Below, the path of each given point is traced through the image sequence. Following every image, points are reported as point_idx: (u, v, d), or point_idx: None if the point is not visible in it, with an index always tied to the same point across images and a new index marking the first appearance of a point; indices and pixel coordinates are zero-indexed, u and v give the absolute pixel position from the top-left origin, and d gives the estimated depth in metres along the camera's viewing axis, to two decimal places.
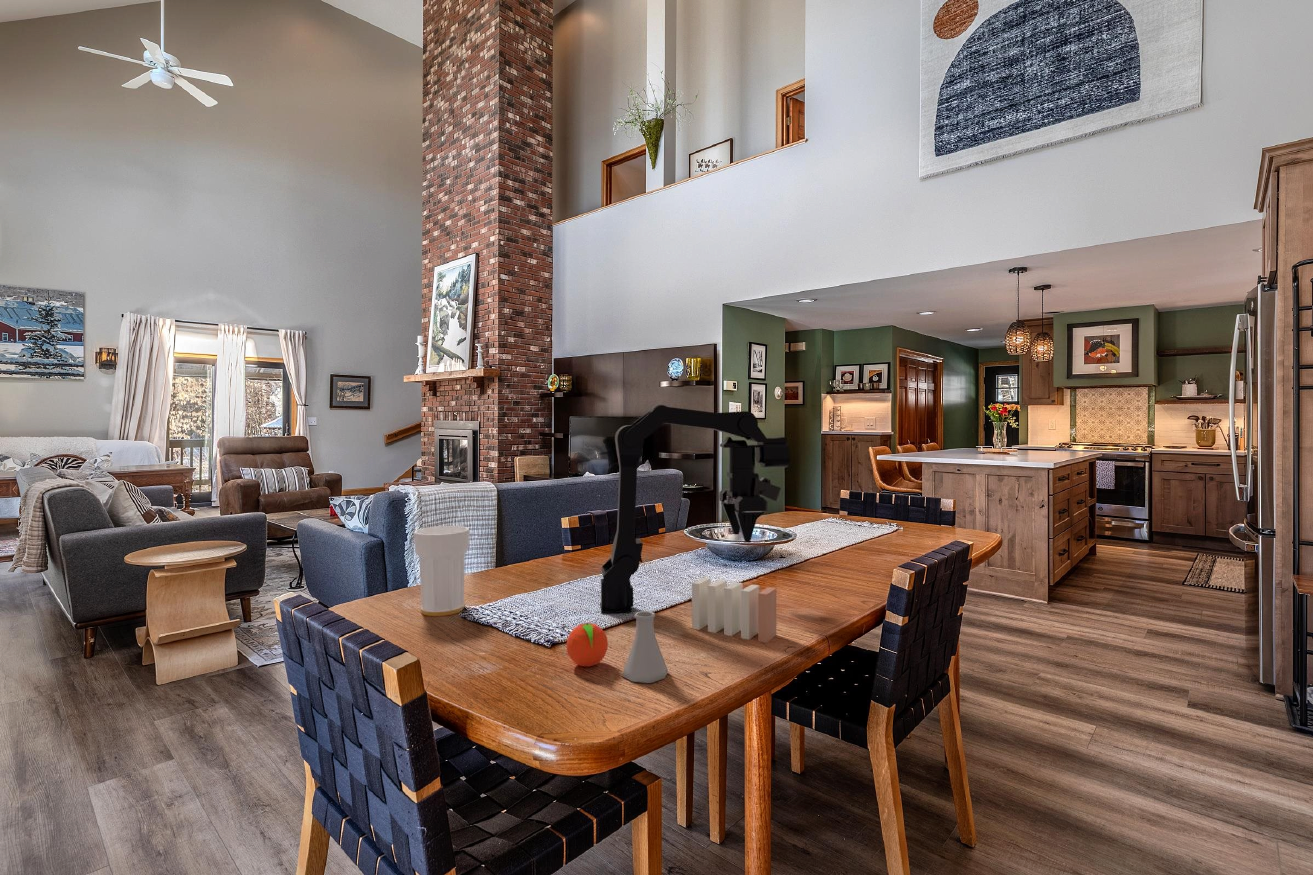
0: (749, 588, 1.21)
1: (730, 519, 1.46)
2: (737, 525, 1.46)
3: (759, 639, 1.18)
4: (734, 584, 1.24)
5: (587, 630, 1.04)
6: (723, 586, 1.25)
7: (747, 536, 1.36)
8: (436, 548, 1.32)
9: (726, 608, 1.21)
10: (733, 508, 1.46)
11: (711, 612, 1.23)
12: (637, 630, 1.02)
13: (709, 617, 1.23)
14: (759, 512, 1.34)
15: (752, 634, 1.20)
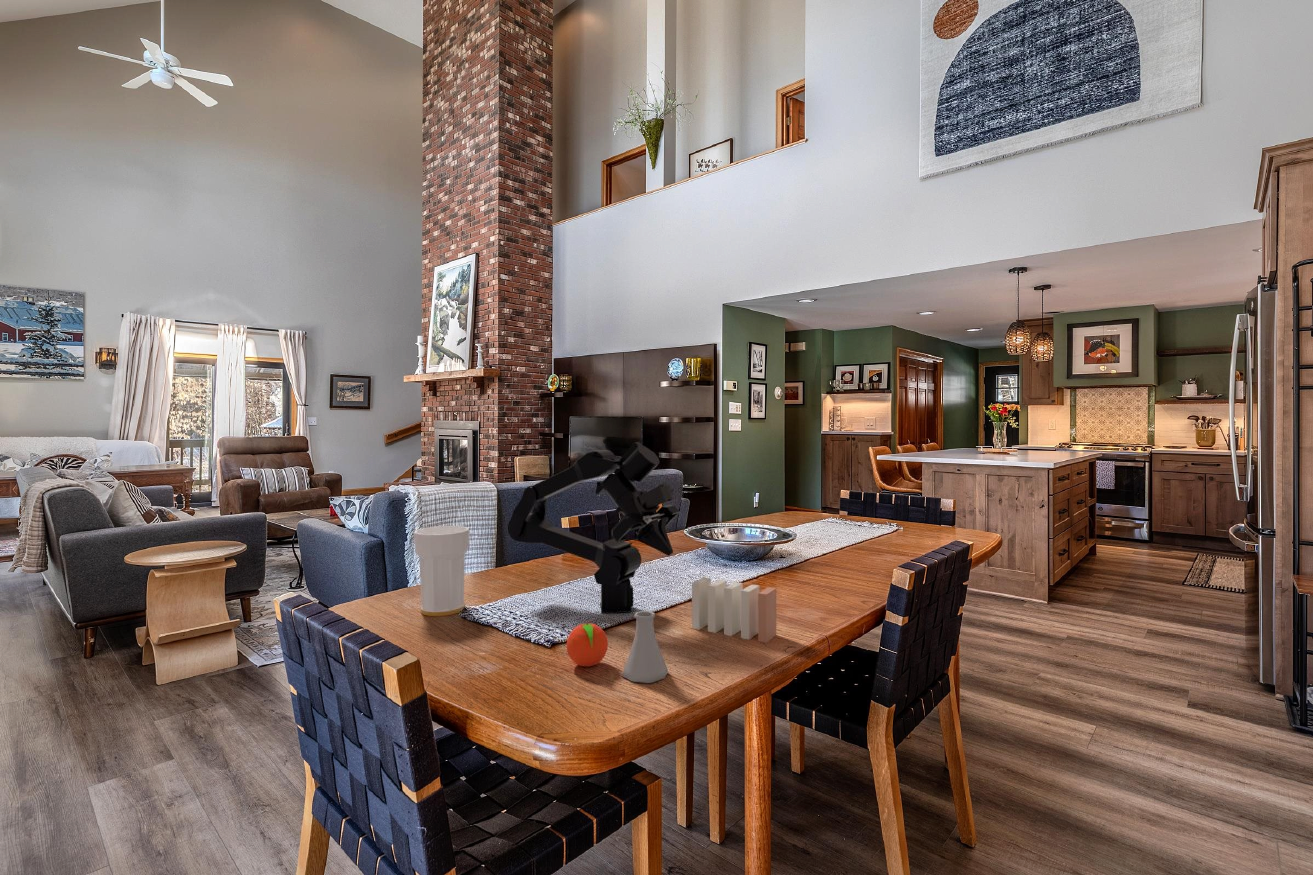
0: (749, 588, 1.21)
1: None
2: None
3: (759, 639, 1.18)
4: (734, 584, 1.24)
5: (587, 630, 1.04)
6: (723, 586, 1.25)
7: (664, 550, 1.30)
8: (436, 548, 1.32)
9: (726, 608, 1.21)
10: None
11: (711, 612, 1.23)
12: (637, 630, 1.02)
13: (709, 617, 1.23)
14: (646, 525, 1.29)
15: (752, 634, 1.20)
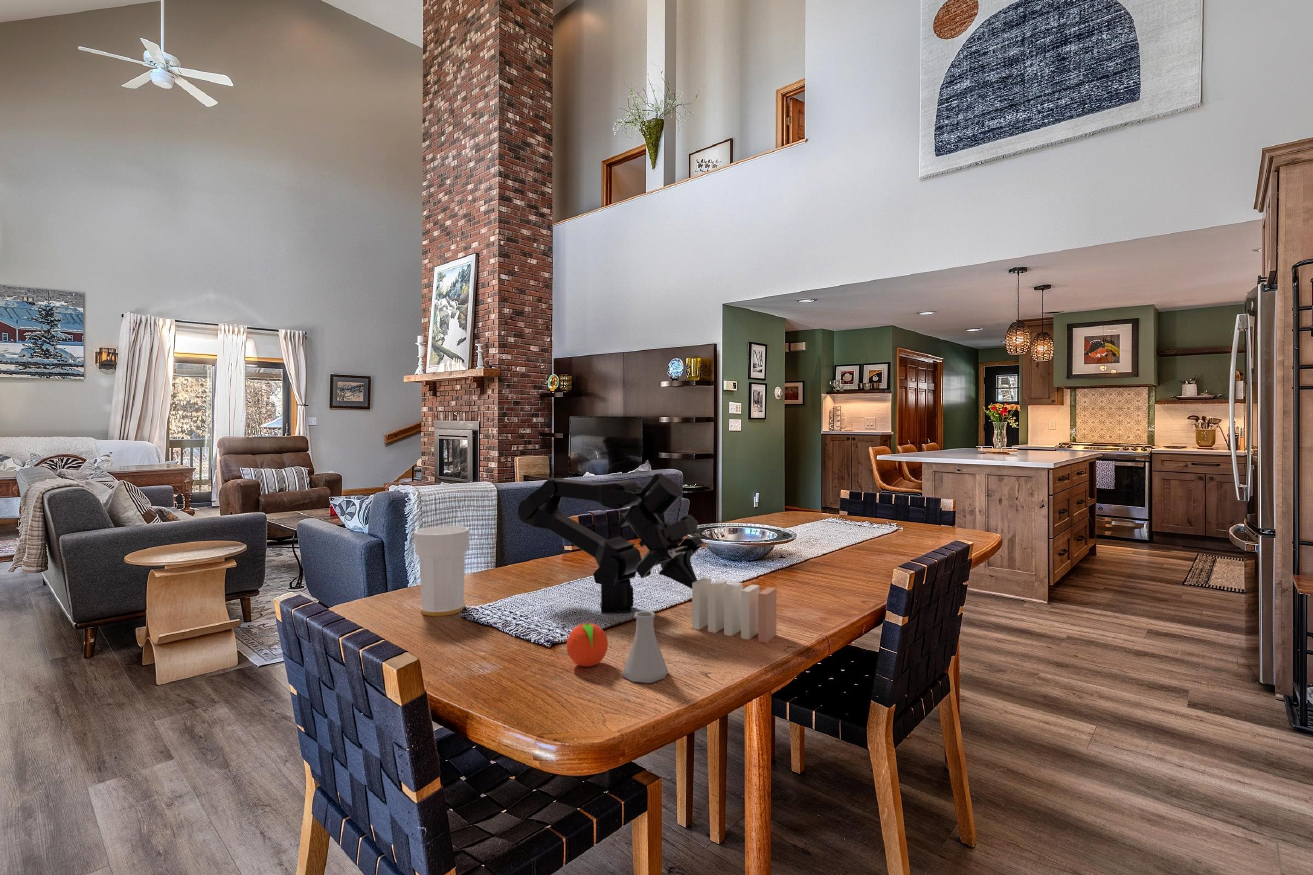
0: (749, 588, 1.21)
1: None
2: None
3: (759, 639, 1.18)
4: (734, 584, 1.24)
5: (587, 630, 1.04)
6: (723, 586, 1.25)
7: (690, 584, 1.27)
8: (436, 548, 1.32)
9: (726, 608, 1.21)
10: None
11: (711, 612, 1.23)
12: (637, 630, 1.02)
13: (709, 617, 1.23)
14: (671, 560, 1.26)
15: (752, 634, 1.20)
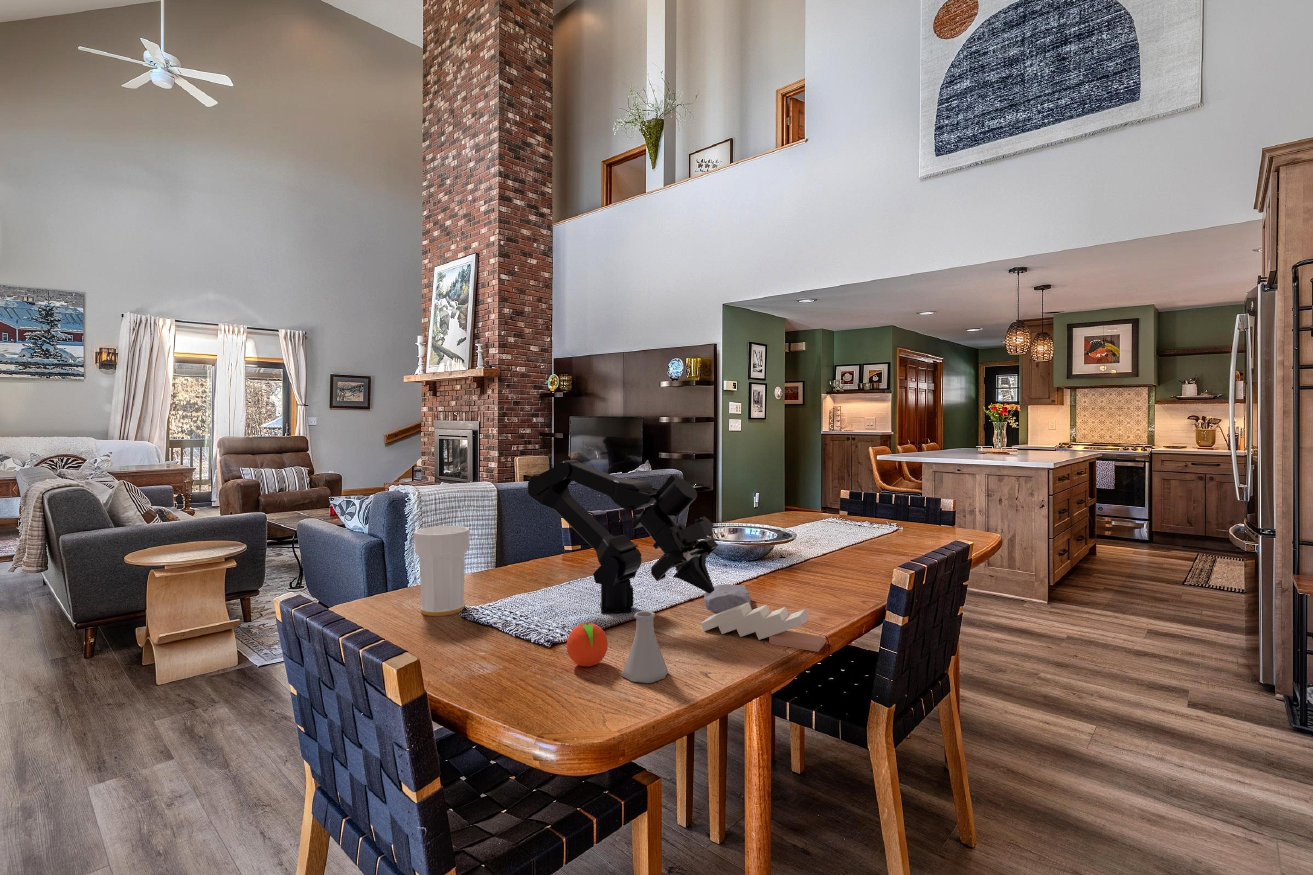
0: (803, 617, 1.17)
1: None
2: None
3: (771, 638, 1.17)
4: (784, 612, 1.19)
5: (587, 630, 1.04)
6: None
7: (705, 587, 1.25)
8: (436, 548, 1.32)
9: (761, 622, 1.18)
10: None
11: (737, 624, 1.20)
12: (637, 630, 1.02)
13: (731, 623, 1.21)
14: (686, 563, 1.24)
15: None
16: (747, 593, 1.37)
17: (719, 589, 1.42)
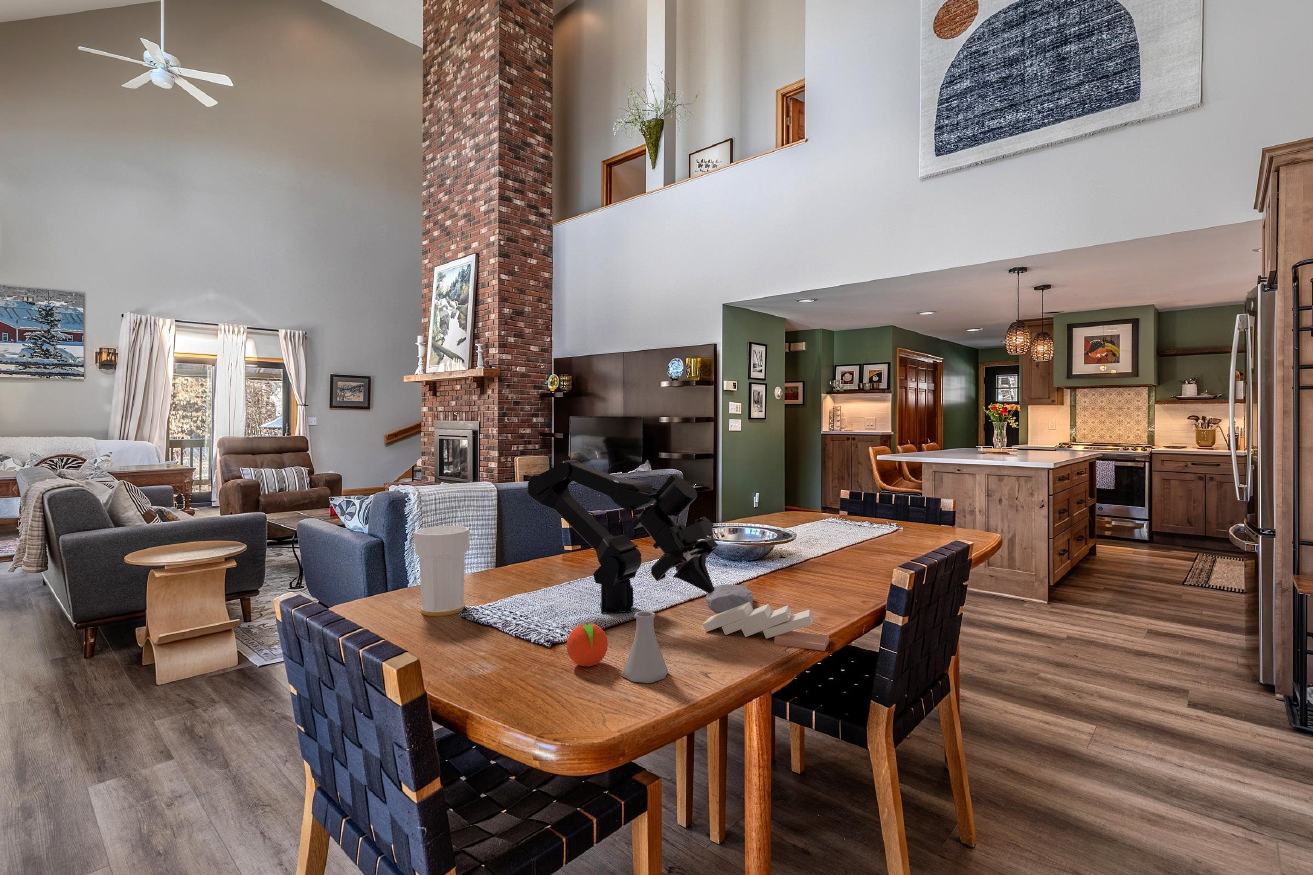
0: (810, 617, 1.18)
1: None
2: None
3: (776, 639, 1.16)
4: (788, 610, 1.20)
5: (587, 630, 1.04)
6: None
7: (705, 587, 1.25)
8: (436, 548, 1.32)
9: (767, 621, 1.18)
10: None
11: (741, 624, 1.20)
12: (637, 630, 1.02)
13: (735, 623, 1.20)
14: (686, 563, 1.24)
15: None
16: (749, 593, 1.37)
17: (721, 589, 1.42)
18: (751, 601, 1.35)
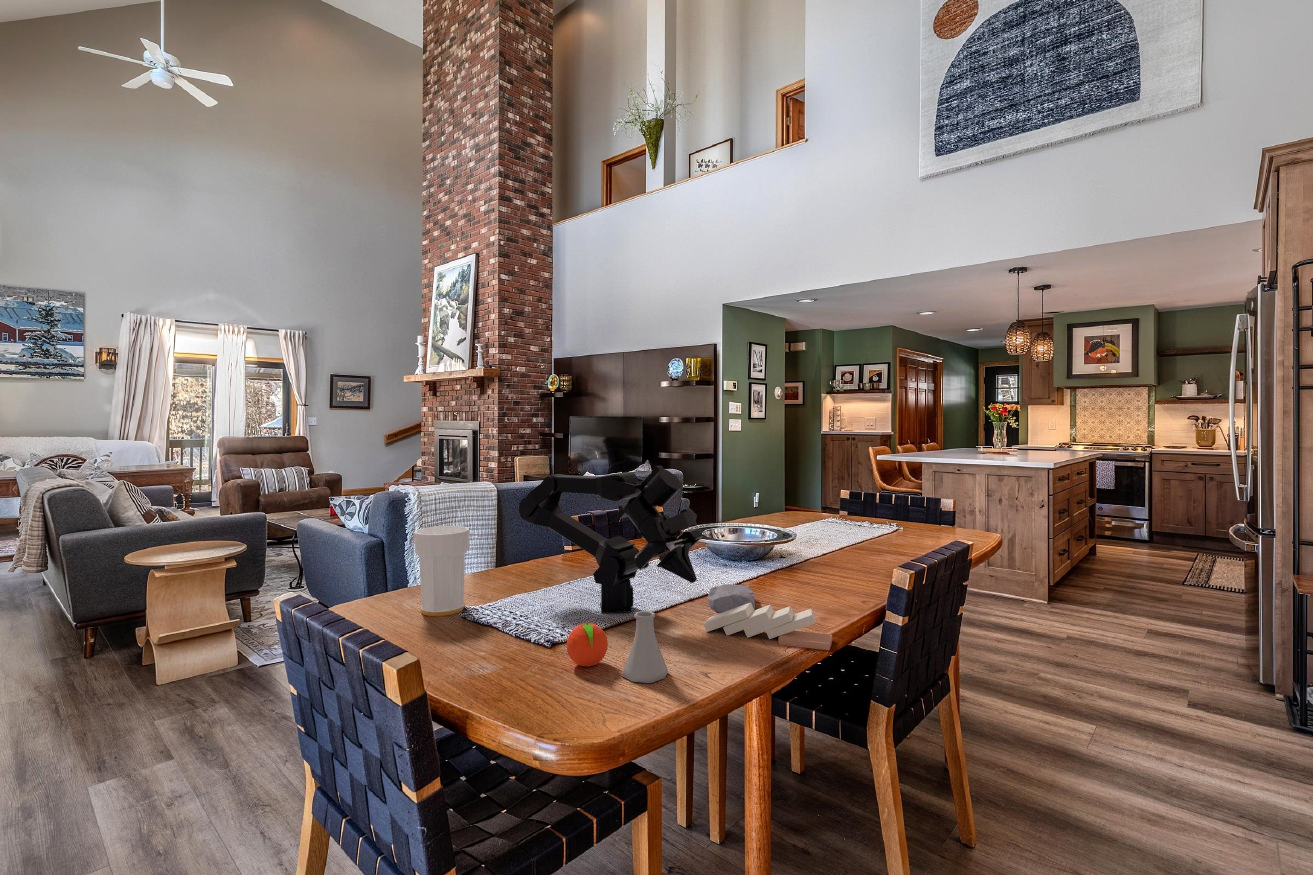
0: (813, 616, 1.18)
1: None
2: None
3: (780, 639, 1.16)
4: (790, 611, 1.20)
5: (587, 630, 1.04)
6: None
7: (688, 577, 1.27)
8: (436, 548, 1.32)
9: (769, 622, 1.18)
10: None
11: (743, 625, 1.20)
12: (637, 630, 1.02)
13: (736, 624, 1.20)
14: (669, 552, 1.26)
15: None
16: (751, 593, 1.37)
17: (723, 589, 1.42)
18: (753, 601, 1.35)
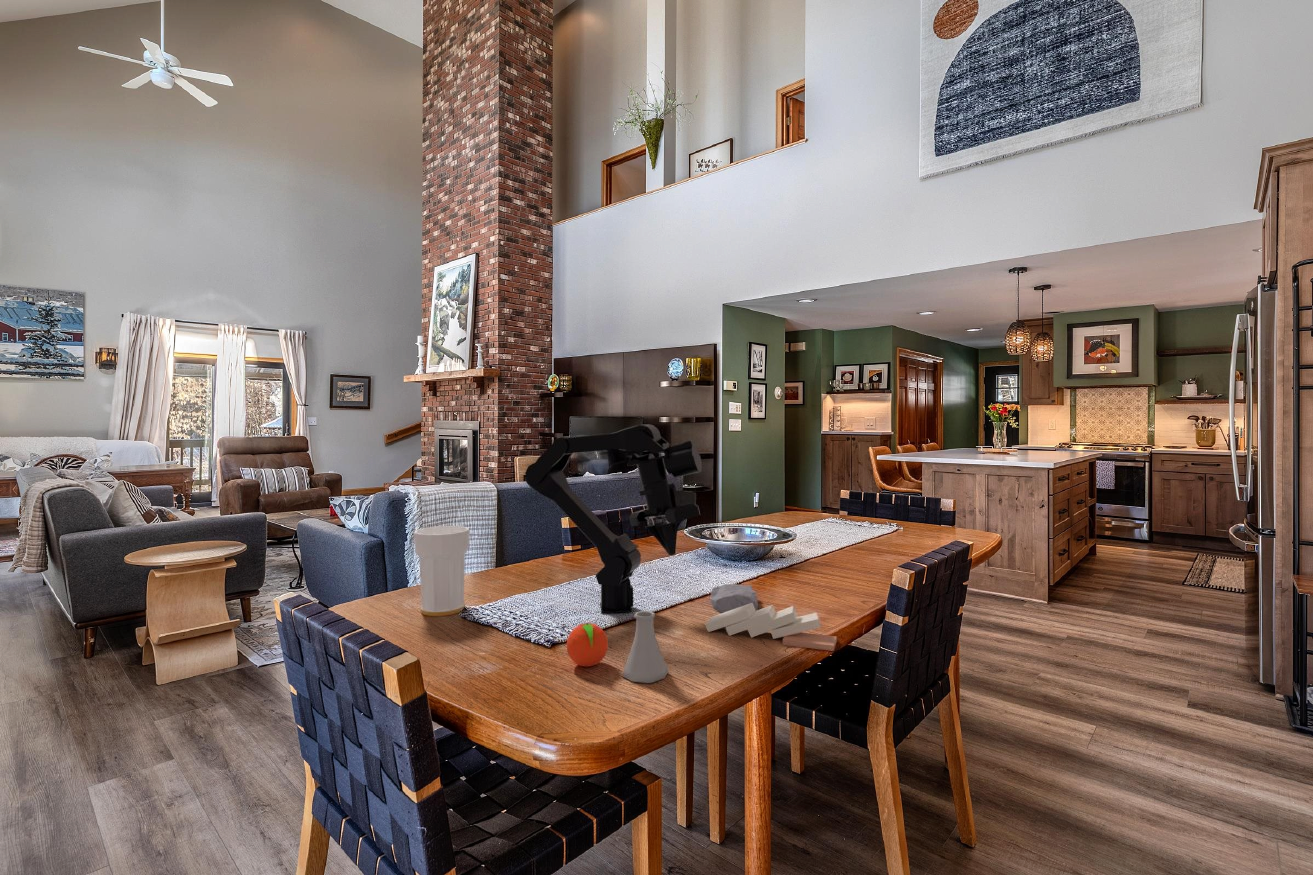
0: None
1: None
2: None
3: (784, 640, 1.16)
4: (794, 611, 1.20)
5: (587, 630, 1.04)
6: None
7: (672, 548, 1.33)
8: (436, 548, 1.32)
9: (773, 622, 1.18)
10: None
11: (745, 625, 1.20)
12: (637, 630, 1.02)
13: (739, 624, 1.20)
14: None
15: None
16: (754, 593, 1.37)
17: (725, 589, 1.42)
18: (756, 601, 1.35)
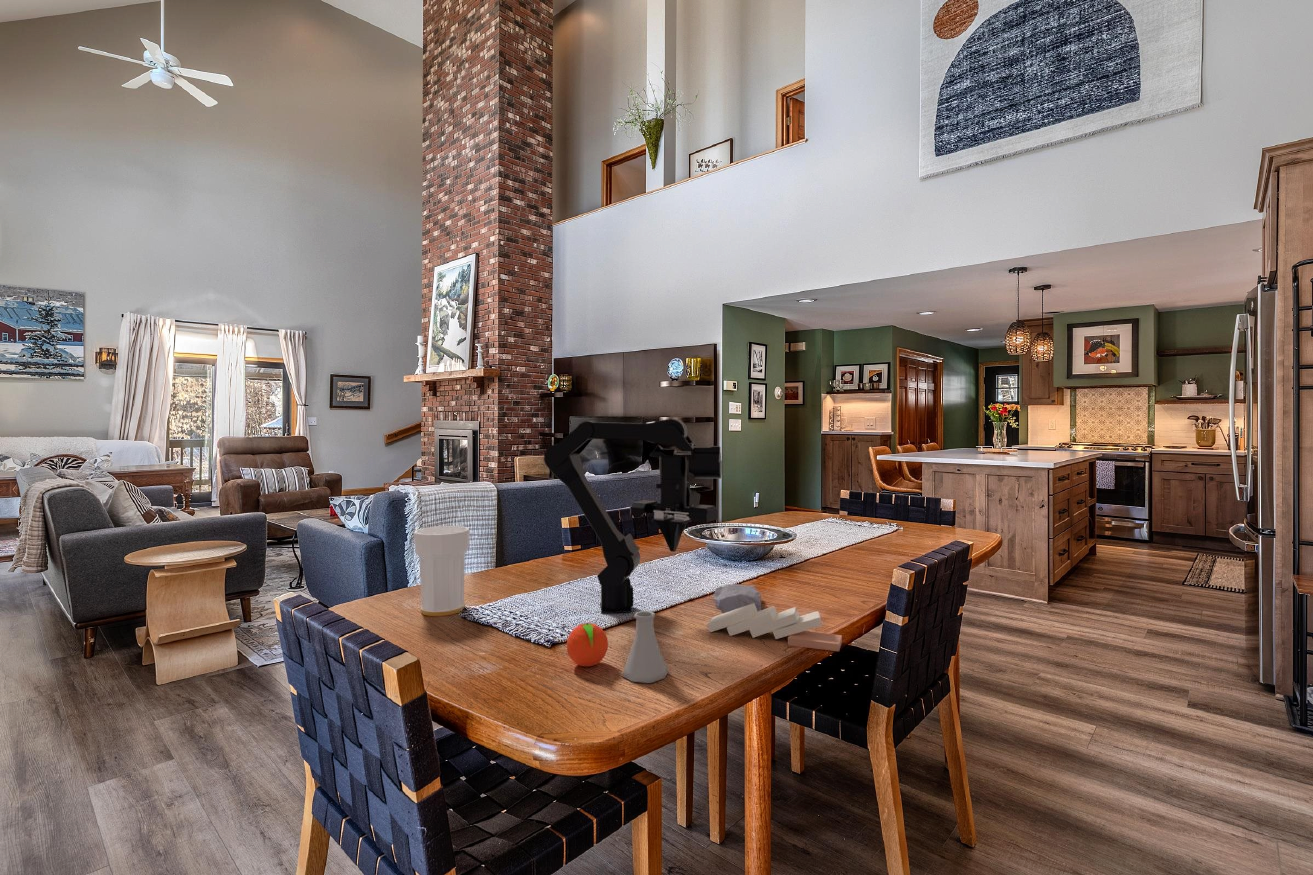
0: (820, 618, 1.18)
1: (668, 536, 1.34)
2: None
3: (789, 639, 1.16)
4: (796, 612, 1.20)
5: (587, 630, 1.04)
6: None
7: (675, 545, 1.35)
8: (436, 548, 1.32)
9: (775, 623, 1.18)
10: (669, 523, 1.35)
11: (746, 626, 1.19)
12: (637, 630, 1.02)
13: (740, 625, 1.20)
14: None
15: None
16: (757, 593, 1.37)
17: (728, 589, 1.42)
18: (759, 601, 1.36)
